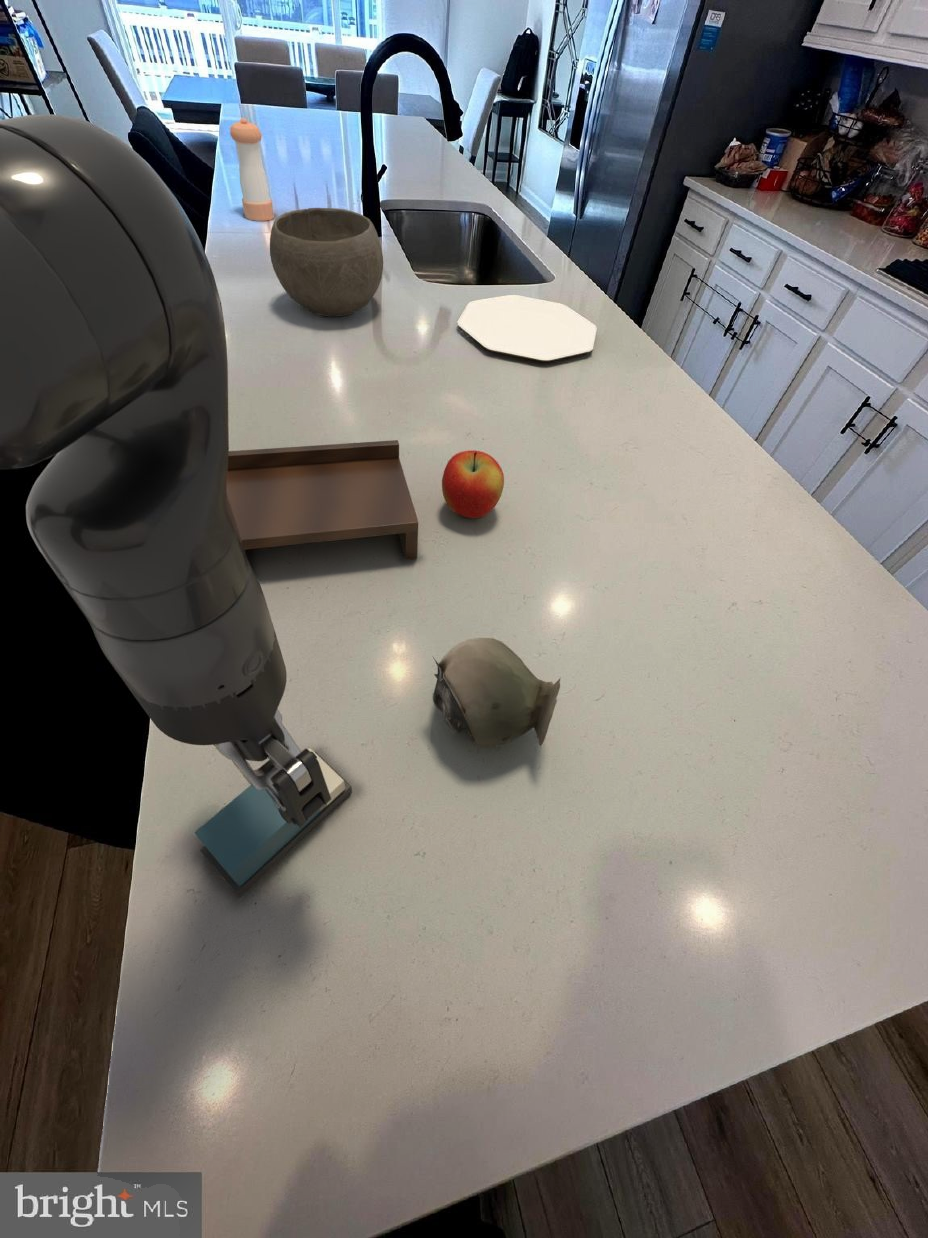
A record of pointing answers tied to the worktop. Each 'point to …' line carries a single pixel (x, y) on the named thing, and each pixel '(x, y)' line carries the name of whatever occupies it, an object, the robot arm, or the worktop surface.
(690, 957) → the worktop surface
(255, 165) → the pepper shaker
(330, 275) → the bowl
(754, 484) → the worktop surface
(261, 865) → the teal eraser block
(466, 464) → the apple
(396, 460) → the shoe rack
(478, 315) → the plate
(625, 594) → the worktop surface
